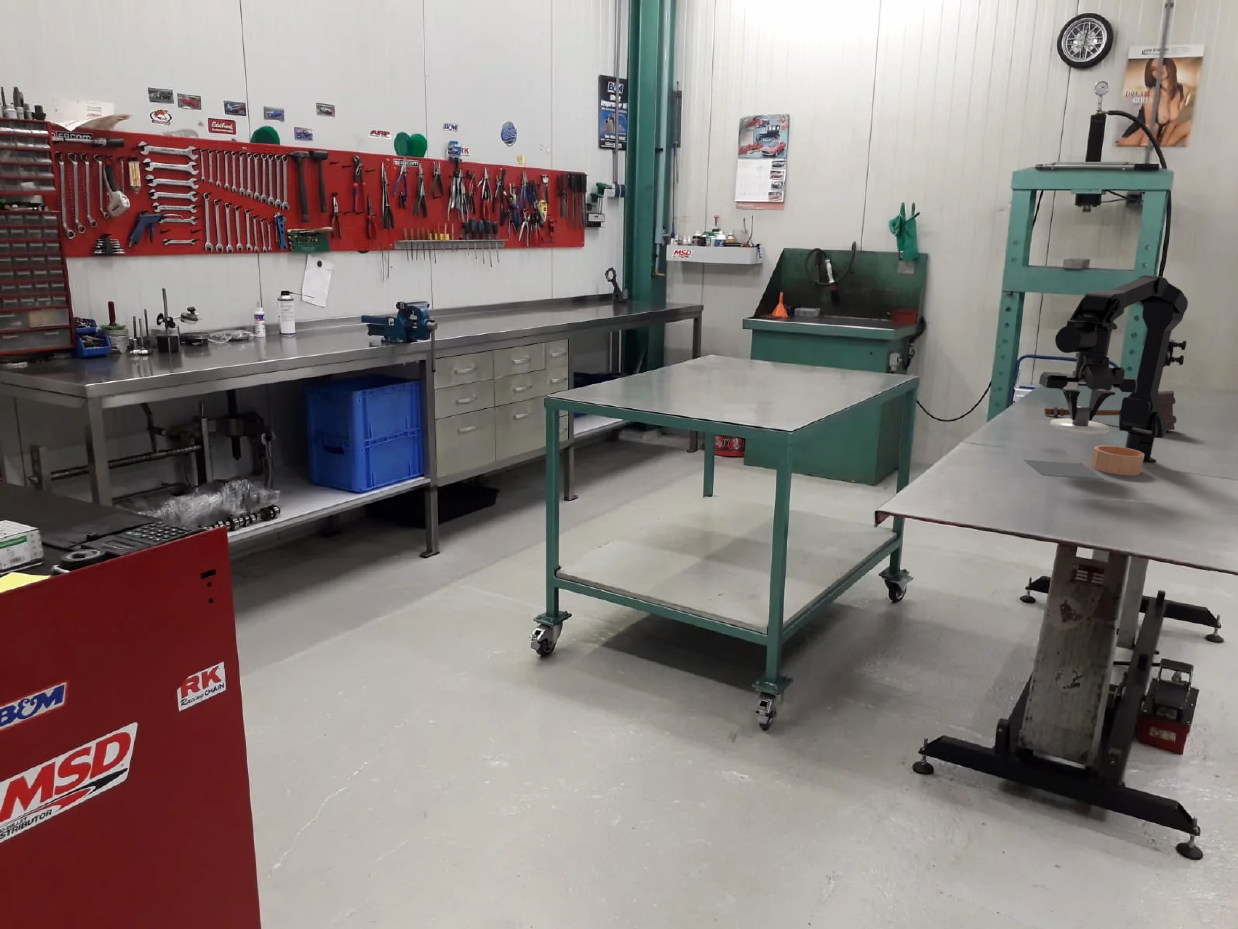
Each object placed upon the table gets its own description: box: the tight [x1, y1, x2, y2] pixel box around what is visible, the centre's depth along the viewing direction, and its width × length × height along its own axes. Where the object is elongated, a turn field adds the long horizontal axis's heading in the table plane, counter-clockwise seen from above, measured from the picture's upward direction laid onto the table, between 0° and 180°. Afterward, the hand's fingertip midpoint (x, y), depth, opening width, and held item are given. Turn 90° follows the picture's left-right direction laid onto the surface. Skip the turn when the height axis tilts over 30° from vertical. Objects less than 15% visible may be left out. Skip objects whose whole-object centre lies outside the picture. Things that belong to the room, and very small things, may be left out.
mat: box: [1023, 459, 1105, 481], centre depth 204 cm, size 13×13×1 cm
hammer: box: [1044, 390, 1178, 431], centre depth 257 cm, size 7×33×10 cm, turn 61°
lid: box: [1049, 405, 1111, 436], centre depth 202 cm, size 12×12×5 cm
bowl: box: [1089, 444, 1145, 476], centre depth 206 cm, size 10×10×4 cm
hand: (1080, 420), depth 202 cm, fingers closed on lid, 3 cm apart
